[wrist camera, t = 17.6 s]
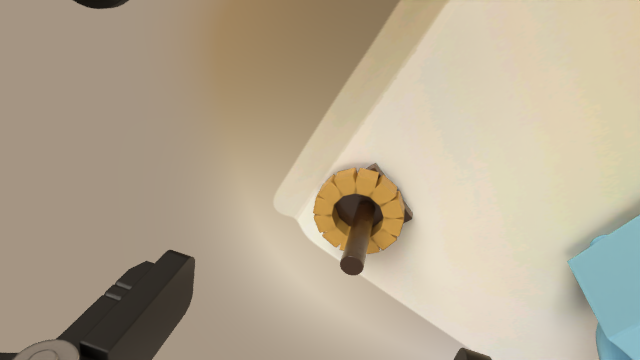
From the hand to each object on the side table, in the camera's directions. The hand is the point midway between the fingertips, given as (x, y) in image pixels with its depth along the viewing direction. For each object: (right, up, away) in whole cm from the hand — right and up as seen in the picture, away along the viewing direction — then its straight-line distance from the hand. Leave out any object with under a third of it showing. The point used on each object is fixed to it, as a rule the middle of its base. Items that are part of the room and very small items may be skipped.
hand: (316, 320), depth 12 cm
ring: (+4, +1, +31) cm, 32 cm away
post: (+5, +1, +32) cm, 33 cm away
